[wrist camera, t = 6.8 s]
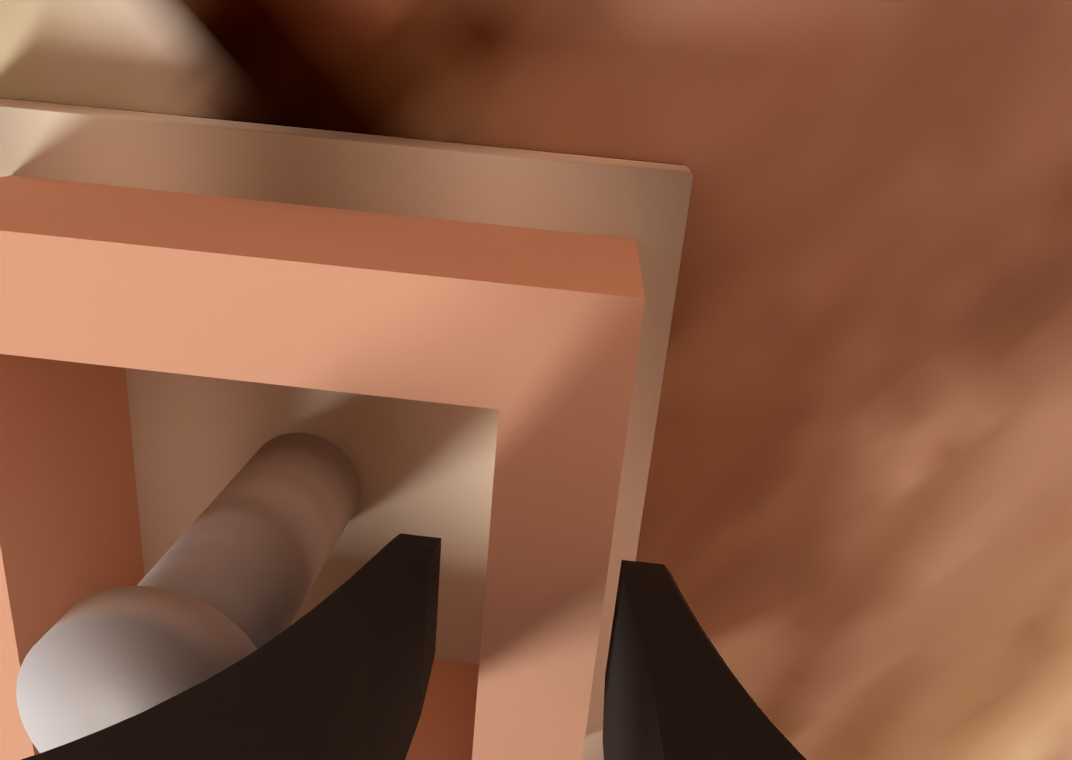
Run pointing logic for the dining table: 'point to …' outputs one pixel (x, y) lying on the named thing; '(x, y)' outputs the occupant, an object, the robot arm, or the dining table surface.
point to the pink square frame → (326, 364)
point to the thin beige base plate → (316, 411)
